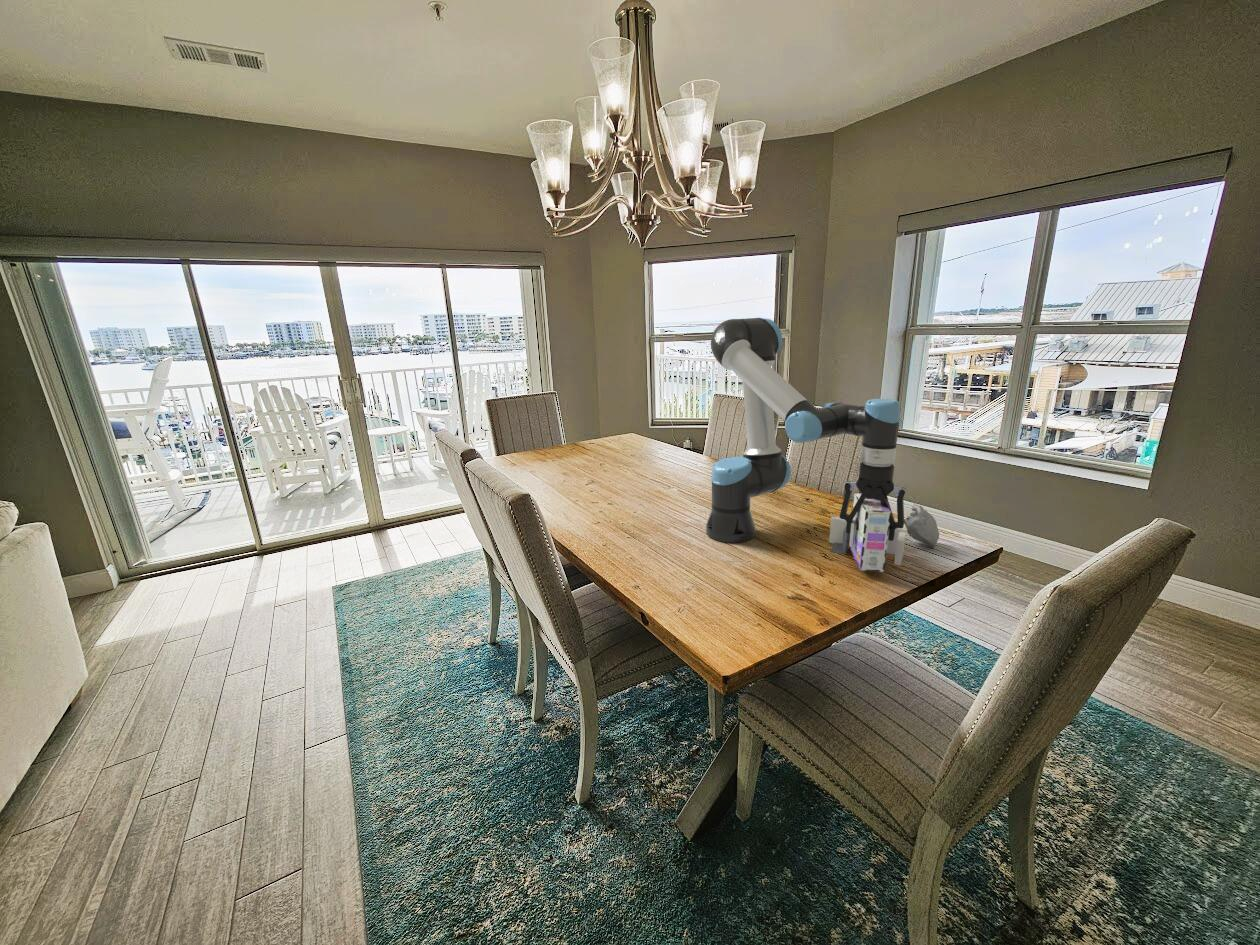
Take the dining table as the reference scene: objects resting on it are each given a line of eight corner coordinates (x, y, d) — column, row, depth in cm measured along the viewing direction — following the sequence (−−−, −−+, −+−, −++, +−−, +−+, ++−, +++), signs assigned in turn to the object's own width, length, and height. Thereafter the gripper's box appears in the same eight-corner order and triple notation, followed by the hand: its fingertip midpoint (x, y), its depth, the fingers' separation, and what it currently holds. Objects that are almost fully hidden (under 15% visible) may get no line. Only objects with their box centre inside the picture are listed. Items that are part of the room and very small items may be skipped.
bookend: (830, 551, 135) (831, 528, 133) (834, 543, 140) (836, 521, 138) (845, 554, 133) (847, 531, 131) (849, 546, 138) (851, 523, 136)
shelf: (824, 550, 136) (826, 525, 134) (830, 540, 142) (832, 516, 140) (900, 565, 126) (904, 538, 124) (903, 554, 132) (906, 527, 130)
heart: (915, 554, 131) (928, 513, 127) (891, 539, 139) (903, 501, 136) (946, 556, 132) (960, 516, 129) (921, 541, 141) (933, 503, 138)
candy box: (884, 573, 120) (892, 511, 115) (859, 571, 121) (865, 510, 116) (871, 548, 132) (877, 492, 128) (848, 547, 134) (853, 492, 129)
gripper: (830, 462, 120) (824, 545, 127) (924, 471, 109) (911, 562, 116) (836, 455, 126) (830, 535, 133) (925, 463, 115) (913, 550, 122)
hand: (868, 547), depth 124 cm, fingers closed on candy box, 7 cm apart
